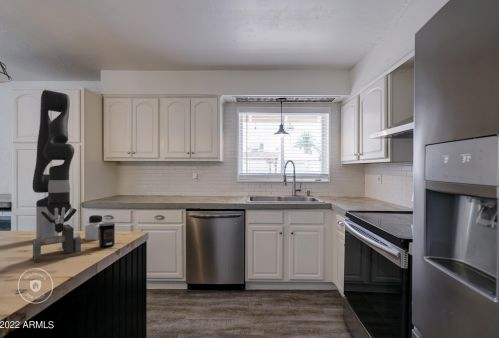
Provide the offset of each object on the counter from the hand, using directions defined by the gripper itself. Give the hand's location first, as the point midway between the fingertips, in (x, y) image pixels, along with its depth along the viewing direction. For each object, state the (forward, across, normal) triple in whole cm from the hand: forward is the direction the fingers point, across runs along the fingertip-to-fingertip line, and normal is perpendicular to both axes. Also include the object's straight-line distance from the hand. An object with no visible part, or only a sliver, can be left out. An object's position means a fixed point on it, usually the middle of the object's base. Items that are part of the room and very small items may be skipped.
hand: (58, 232), depth 119 cm
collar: (+8, -3, 0) cm, 9 cm away
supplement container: (+10, -20, -3) cm, 22 cm away
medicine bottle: (+10, -20, -22) cm, 31 cm away
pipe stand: (+10, 0, 0) cm, 10 cm away
